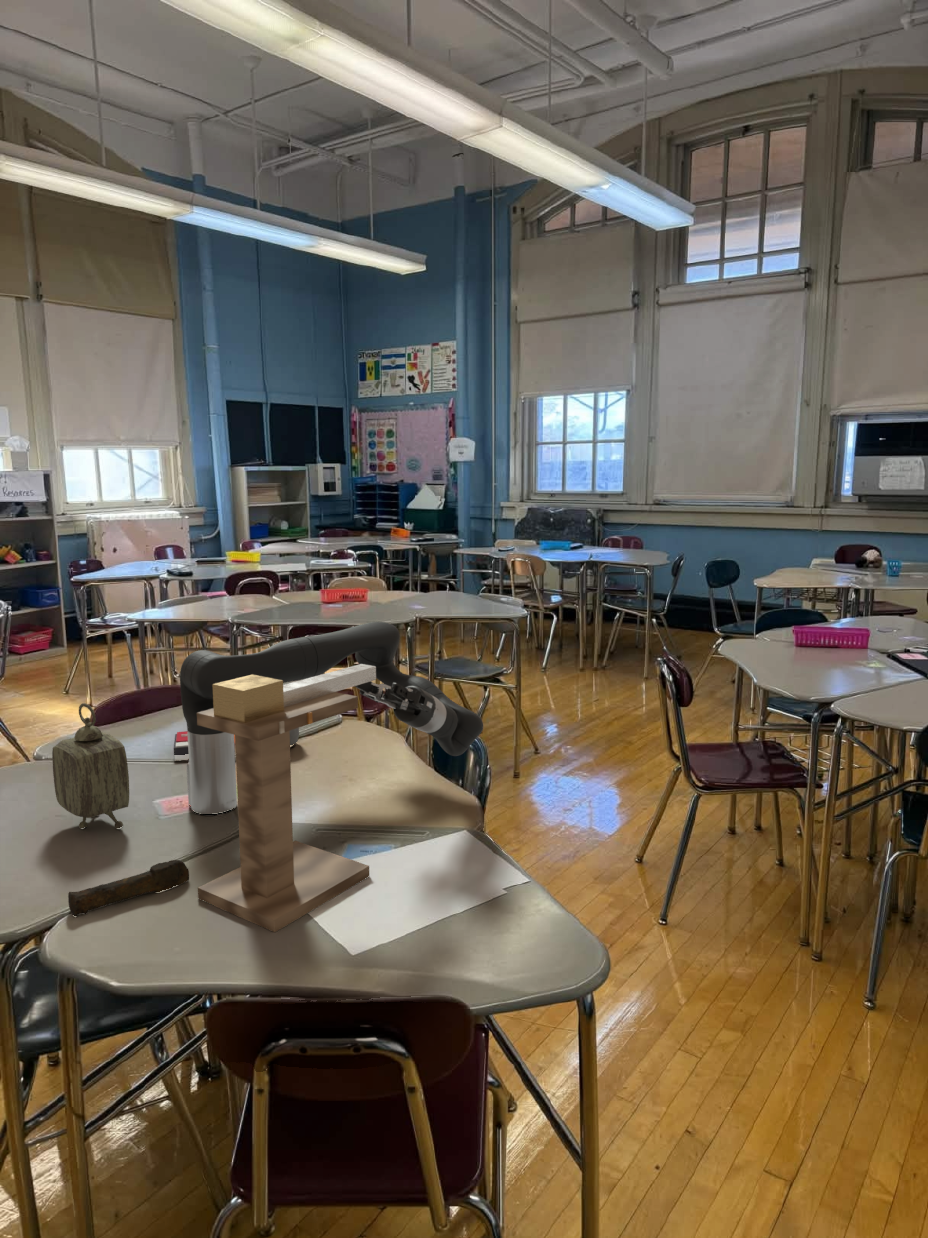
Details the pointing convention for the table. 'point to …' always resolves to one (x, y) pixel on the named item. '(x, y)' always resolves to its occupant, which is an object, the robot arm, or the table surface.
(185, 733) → the red black flat block
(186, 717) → the robot arm
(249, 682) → the bar
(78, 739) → the tabletop clock
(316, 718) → the stand
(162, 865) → the hand tool
